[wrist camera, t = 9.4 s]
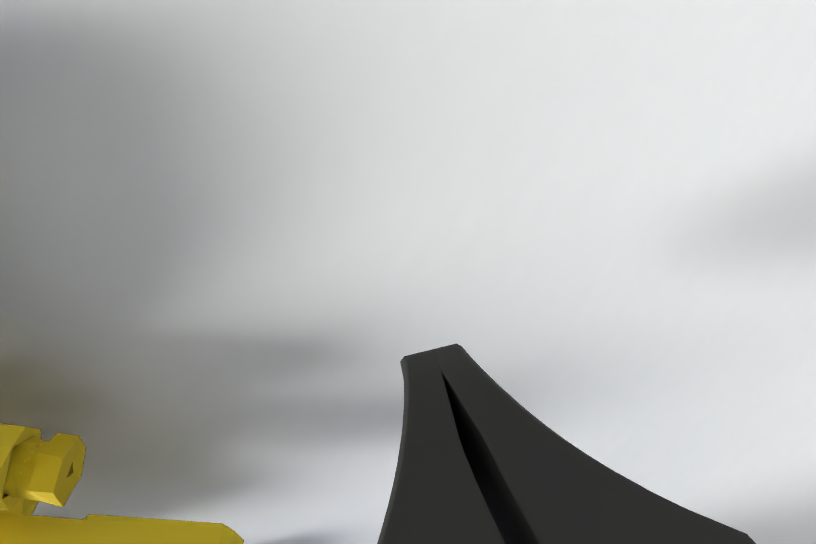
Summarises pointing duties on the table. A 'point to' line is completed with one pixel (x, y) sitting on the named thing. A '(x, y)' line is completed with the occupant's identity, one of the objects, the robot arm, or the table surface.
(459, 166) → the table surface
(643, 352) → the table surface
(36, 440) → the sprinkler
